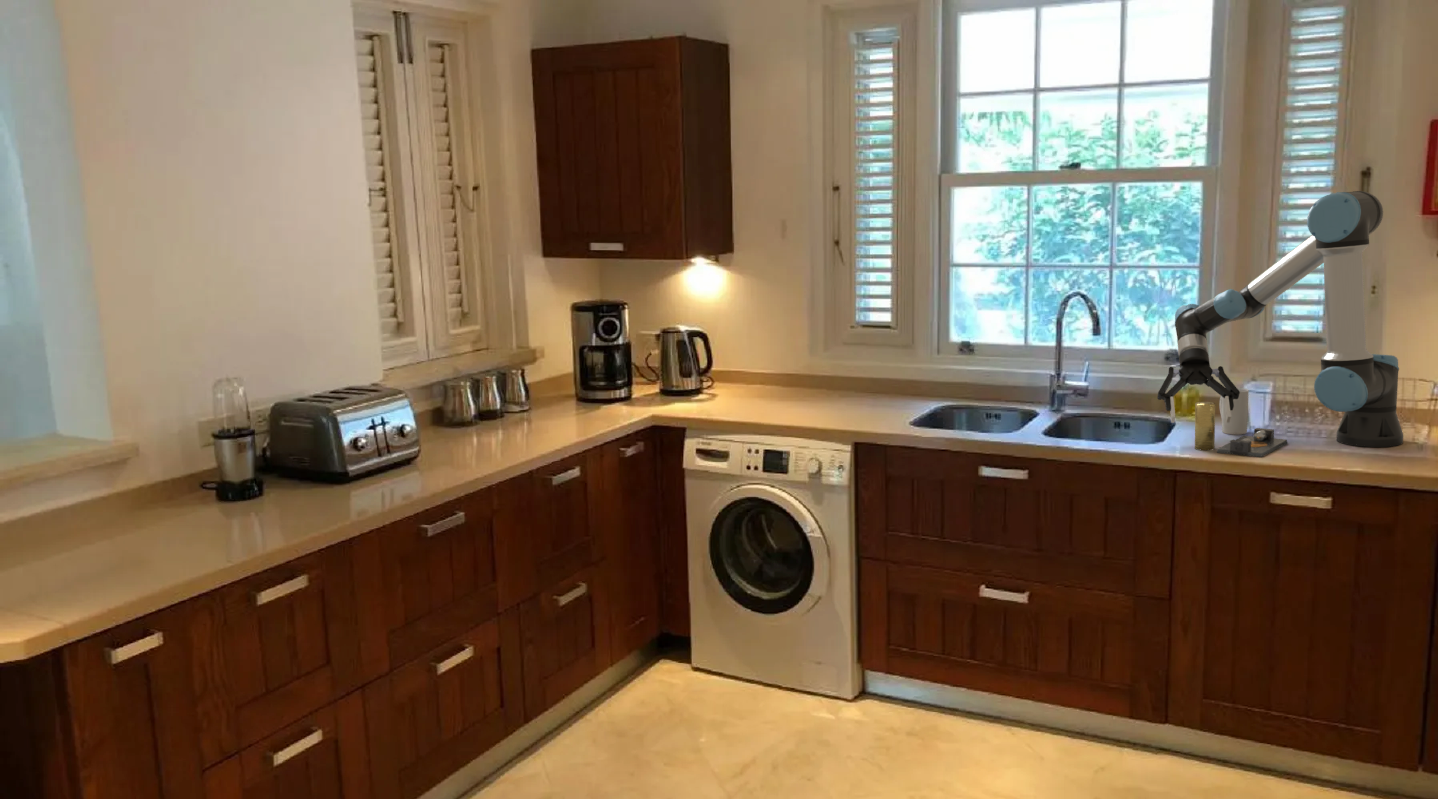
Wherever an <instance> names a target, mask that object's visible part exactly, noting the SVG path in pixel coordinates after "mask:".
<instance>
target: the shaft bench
mask: <svg viewBox="0 0 1438 799" xmlns="http://www.w3.org/2000/svg"><path fill="white" fill-rule="evenodd" d="M1287 444H1288V439H1286V438H1285V439H1284V438H1275V429H1270V428H1261V427H1256V428H1254V429H1253V436H1252V435H1242V436H1240V437H1238V438H1236V439H1231V440H1230V441H1229V442H1228V443H1226V444H1224V445H1222V446H1220V447H1218V448H1217V449H1216V453H1217V454H1224V453H1225V454H1224V455H1226V454H1228V455H1234V456H1244V457H1245V456H1246V457H1254V458H1255V457H1256V458H1263V457H1265V456H1266V455H1269V454H1270V453H1272V452H1274V451H1275V450H1277V449H1280V448H1282V447H1283V446H1285V445H1287Z"/></svg>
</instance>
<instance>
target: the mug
mask: <svg viewBox="0 0 1438 799" xmlns="http://www.w3.org/2000/svg"><path fill="white" fill-rule="evenodd" d="M1236 388H1237V389H1238V390H1239V392H1240V394H1239V398H1238V399H1233V403H1234V407H1233V410H1230V412H1231V419H1230V422H1226V414H1225V406H1224V400H1225V398H1223V397H1222V396H1221V395H1220V398H1219V413H1220V418H1221V425H1222V426H1221V430H1222V434H1226V435H1234V436H1235V435H1245V434H1247V432H1248V416H1249V391H1250V390H1249V388H1242V387H1241V388H1240V387H1236Z"/></svg>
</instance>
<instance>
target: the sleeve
mask: <svg viewBox="0 0 1438 799" xmlns="http://www.w3.org/2000/svg"><path fill="white" fill-rule="evenodd" d="M1194 406H1195V407H1194V449H1195V450H1197V449H1201V450H1200V451H1213V450H1212V449H1214V450H1215V445H1216V444H1215V437H1216V436H1215V434H1216V403H1215V402H1212V401H1199V402H1195V403H1194Z"/></svg>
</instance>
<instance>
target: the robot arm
mask: <svg viewBox="0 0 1438 799" xmlns="http://www.w3.org/2000/svg"><path fill="white" fill-rule="evenodd" d="M1383 218H1384V208H1383V205H1382V203H1381V201H1380V200H1379V198H1377V197H1376V196H1375V195H1374V194H1372V193H1370V192H1367V191H1364V190H1363V191H1362V190H1354V191H1353V190H1352V191H1338V192H1333V193H1330V194H1327V195H1326V194H1325V195H1324V196H1322V197H1320V198H1318V199H1317V200H1316V201H1315V202H1314V203H1313V204H1312V206H1311V207H1310V208H1309V211H1308V213H1307V218H1306V225H1307V229H1308V231H1309V233H1310V236H1309V237H1307V238H1306V239H1305V240H1304V241H1302V242H1301V243H1299V244H1298V245H1297V246H1295V247H1294V248H1293V249H1292V250H1291V251H1289V252H1288V253H1287V254H1285V255H1284V256H1283V257H1281V258H1280V259H1278V261H1276V262H1275V263H1274V264H1272V265H1270V267H1269V268H1266V270H1265V271H1263V272H1262V273H1260V275H1258V276H1257V277H1256V278H1254V279H1253V280H1252V281H1250V282H1249V283H1248V284H1246V285H1245V286H1244V287H1243V288H1241V289H1240V290H1239V291H1238V290H1235V289H1233V288H1230V289H1227V290H1224V291H1223V292H1220V293H1218V294H1217V295H1216V296H1214V297H1212V298H1211V299H1208V300H1207V301H1204V303H1202V304H1200V305H1199V304H1197V303H1196V304H1195V303H1188V304H1186V305H1184V304H1182V305H1181V306H1179V307H1178V308H1177V309H1176V310H1175V315H1174V326H1175V333H1176V338H1177V339H1176V342H1177V352H1178V362H1179V368H1177V369H1176V368H1174V367H1173V366H1170V367H1168V372H1167V376H1166V378H1165V380H1164V381H1163V383H1162V385H1161V386H1160V388H1159V390H1158V392H1157V400H1158V401H1160V400H1163V402H1164V405H1165V410H1166V411H1169V412H1170V413H1169V414H1170V423H1172V424H1173V423H1175V422H1176V411H1175V400H1174V397H1175V395H1177V394H1178V393H1179V392H1180V391H1181V390H1182V388H1184V387H1185V386H1187V384H1189V386H1193V385H1197V386H1198V385H1200V386H1201V385H1203V384H1204V385H1205V386H1207V387H1210V389H1212V390H1213V391H1214V392H1216V393H1217V394H1218V395H1220V397H1221V396H1222V397H1223V398H1225V400H1224V406H1225V414H1226V422H1230V419H1231V412H1230V410H1233V407H1234V403H1233V399H1238V398H1239V394H1240V392H1239V390H1238V389H1237V388H1238V387H1236V385H1235V384H1234V383H1233V382H1232V380H1231V379H1230V378H1229V377H1228V375H1227V374H1226V373H1225V370H1224V367H1223V366H1218V368H1212V367H1211V365H1210V364H1211V362H1210V356H1209V348H1208V341H1207V334H1208V333H1210V332H1211V331H1214V330H1215V329H1217V328H1219V327H1221V326H1222V325H1225V324H1227V323H1232V322H1236V321H1240V320H1245V319H1251V318H1252V319H1253V318H1255V317H1257V316H1259V315H1260V314H1262V313H1263V311H1264V310H1265V307H1266V306H1267V305H1269V304H1270V303H1272V302H1273V301H1274V300H1275V299H1277V298H1278V297H1280V296H1281V295H1282V294H1283V293H1285V292H1286V291H1288V290H1289V289H1290V288H1292V287H1293V286H1295V285H1296V284H1297V283H1298V282H1299V281H1301V280H1302V279H1304V278H1305V277H1307V275H1309V274H1310V273H1313V271H1315V270H1316V269H1317V268H1319V267H1320V266H1321V265H1322V264H1323V279H1324V281H1323V282H1324V298H1325V299H1324V303H1325V305H1324V306H1325V327H1326V328H1325V330H1326V352H1325V353H1324V354H1322V356H1321V357H1320V372H1319V373H1318V374H1317V376H1316V378H1315V380H1314V383H1313V384H1314V386H1313V388H1314V393H1315V396H1316V398H1317V399H1318V401H1319V402H1320V403H1321V404H1322V405H1323V406H1324V407H1326V408H1327V409H1329V410H1331V411H1334V412H1339V413H1341V412H1342V413H1343V416H1342V418H1341V421H1340V423H1339V424H1338V425H1339V426H1338V428H1337V430H1336V441H1337V442H1339V443H1341V444H1344V445H1349V446H1357V447H1364V448H1365V447H1367V448H1382V447H1383V448H1387V447H1396V446H1401V445H1402V444H1404V432H1403V429H1402V426H1401V423H1400V420H1399V418H1398V414H1397V402H1398V385H1399V383H1398V382H1399V370H1400V368H1399V359H1398V357H1396V355H1392V354H1379V353H1372V352H1370V351H1369V350H1367V342H1366V341H1367V340H1366V339H1367V338H1366V337H1367V336H1366V335H1367V334H1366V316H1365V315H1366V311H1365V309H1366V308H1365V291H1364V290H1365V287H1364V286H1365V285H1364V261H1363V259H1364V257H1363V256H1364V255H1363V253H1364V251H1365V250H1366V249H1368V247H1370V235H1371V234H1372V233H1374V232H1375V231H1376V230H1377V229H1378V228H1379V227H1380V225H1381V223H1382V221H1383ZM1177 375H1179V377H1180V379H1179V380H1178V381H1176V383H1174V385H1172V387H1171V388H1170V389H1169V390H1168V388H1169V387H1170V385H1171V383H1172V381H1173V379H1174V378H1176V376H1177ZM1213 375H1214V376H1215V377H1216V378H1218V380H1219V381H1220V382H1219V381H1218V380H1216V379H1215V378H1214V376H1213Z"/></svg>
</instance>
